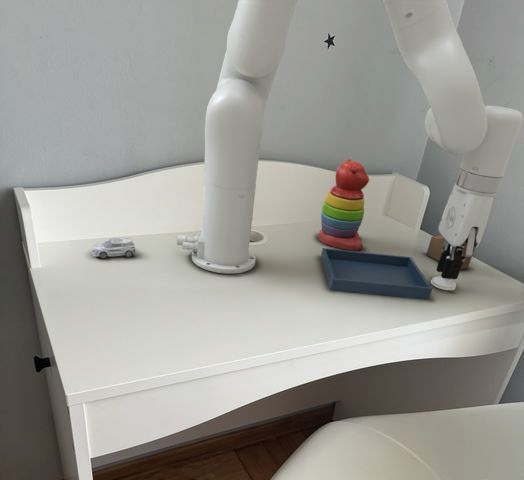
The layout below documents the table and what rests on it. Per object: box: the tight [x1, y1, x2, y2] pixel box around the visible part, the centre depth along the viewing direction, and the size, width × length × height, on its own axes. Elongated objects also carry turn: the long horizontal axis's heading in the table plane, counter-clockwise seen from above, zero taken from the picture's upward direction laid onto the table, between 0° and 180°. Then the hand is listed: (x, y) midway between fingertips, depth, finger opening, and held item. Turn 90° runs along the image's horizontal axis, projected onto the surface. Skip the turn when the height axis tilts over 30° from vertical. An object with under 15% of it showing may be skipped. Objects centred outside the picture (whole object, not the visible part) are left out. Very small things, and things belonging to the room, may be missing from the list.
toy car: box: [91, 237, 136, 260], centre depth 98 cm, size 4×8×3 cm, turn 114°
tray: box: [320, 247, 433, 300], centre depth 104 cm, size 19×15×2 cm
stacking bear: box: [317, 158, 370, 252], centre depth 115 cm, size 11×10×18 cm
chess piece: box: [430, 246, 461, 291], centre depth 102 cm, size 5×5×10 cm
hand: (446, 274), depth 103 cm, fingers closed on chess piece
